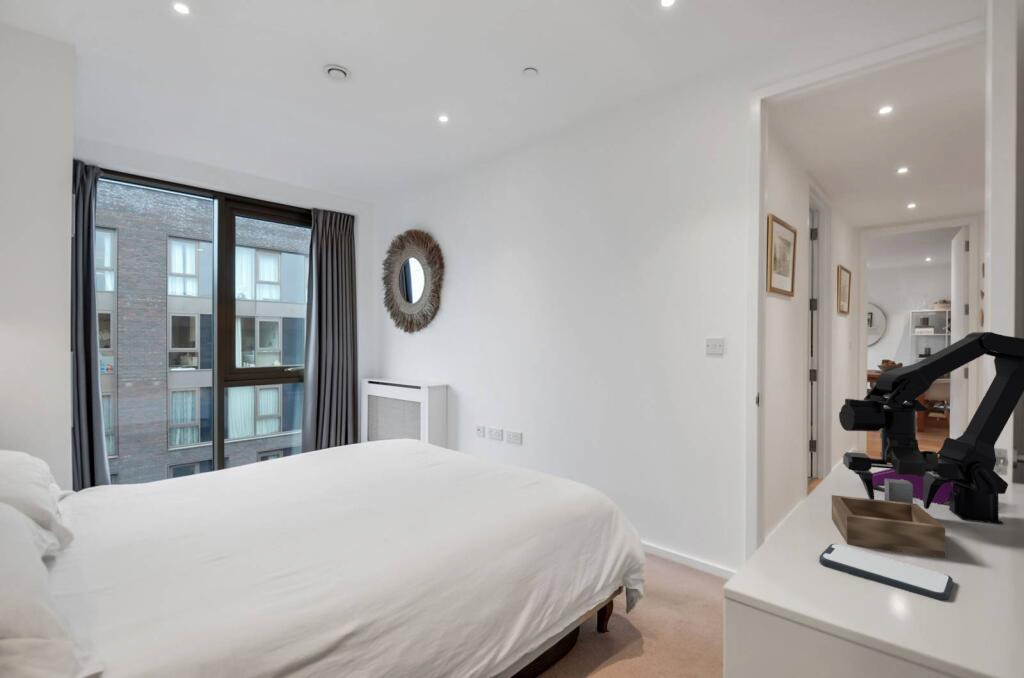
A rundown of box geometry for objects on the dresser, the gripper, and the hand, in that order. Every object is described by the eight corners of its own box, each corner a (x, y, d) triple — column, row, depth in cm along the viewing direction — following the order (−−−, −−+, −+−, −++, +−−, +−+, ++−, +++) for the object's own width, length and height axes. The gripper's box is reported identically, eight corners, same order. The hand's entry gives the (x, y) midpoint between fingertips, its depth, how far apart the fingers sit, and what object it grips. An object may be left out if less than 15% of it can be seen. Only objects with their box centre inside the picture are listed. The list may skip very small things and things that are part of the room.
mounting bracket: (872, 514, 119) (960, 500, 106) (854, 480, 122) (938, 461, 109) (885, 506, 124) (971, 491, 111) (868, 473, 127) (949, 455, 114)
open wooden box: (916, 529, 94) (916, 503, 94) (945, 557, 82) (945, 527, 82) (831, 519, 100) (831, 495, 100) (847, 544, 88) (847, 516, 88)
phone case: (953, 585, 74) (832, 550, 86) (953, 575, 74) (832, 541, 86) (946, 607, 68) (817, 566, 80) (946, 596, 68) (817, 557, 80)
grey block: (901, 508, 106) (901, 476, 106) (912, 518, 100) (912, 484, 100) (879, 505, 108) (879, 474, 108) (889, 515, 102) (889, 482, 102)
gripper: (855, 435, 99) (855, 512, 99) (974, 442, 91) (974, 525, 91) (842, 426, 109) (842, 495, 109) (948, 432, 101) (948, 506, 101)
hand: (898, 505), depth 102 cm, fingers open, 9 cm apart
